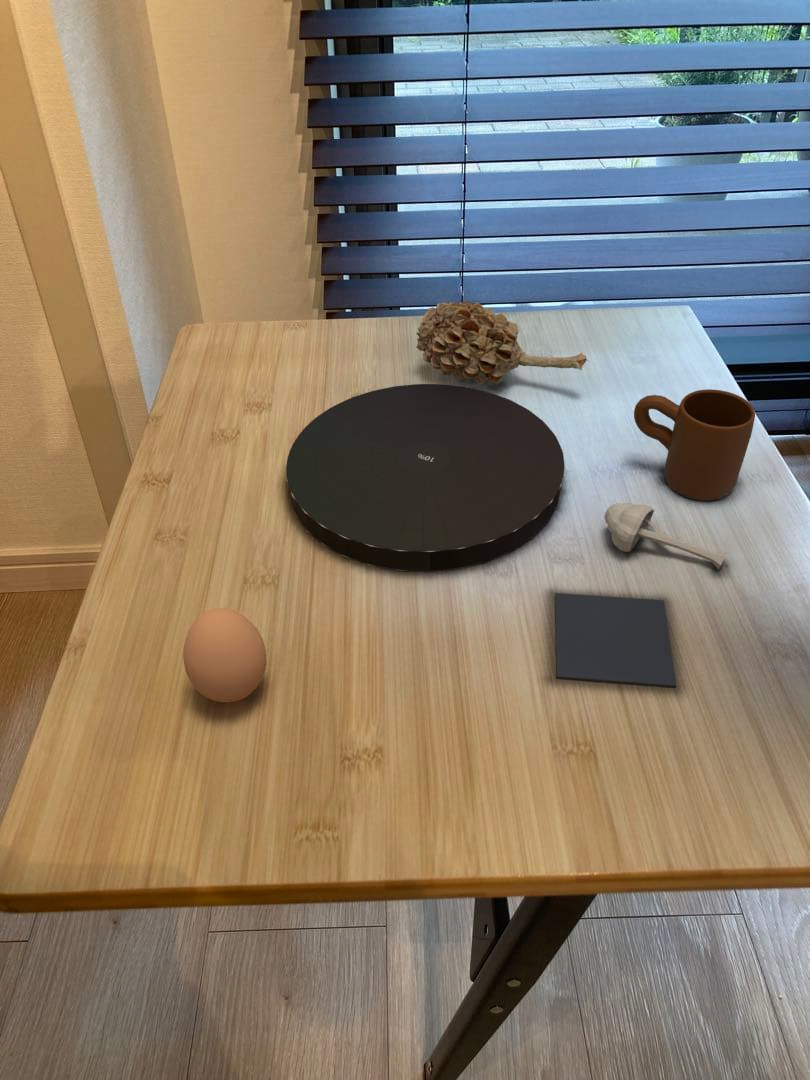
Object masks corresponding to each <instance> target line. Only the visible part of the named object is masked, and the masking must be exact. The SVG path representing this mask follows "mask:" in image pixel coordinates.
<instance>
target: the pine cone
mask: <svg viewBox="0 0 810 1080" xmlns="http://www.w3.org/2000/svg"><path fill="white" fill-rule="evenodd" d="M421 320H422V321H421V322H420V323H419V327H417V332H415V334H416V335H417V336H418V338H416V340H417V344H416V349H418V351H420V352H423V353H422V360H423V361H424V362H427V363H428V364H431V368H432V369H434V370H436V371H440V372H441V373H442V376H451V377H452V379H453V381H461V380H462V379H464V381H465V382H466V383H469V382H471V381H473V380H475V382H476V384H478V385H481V384H485V383H486V382H487V381H489V382H490V383H491V384H492V385H494V386H496V385H497V386H498V384H500V383H501V381H502V380H503V378H504V376H505V375H506V374H508V373H509V372H511V371H513V370H515V369H517V368H519V366H522V367H539V368H545V369H546V368H555V369H556V368H557V369H575V370H576V369H577V370H579V371H581V372H582V371H583V367H584V365H585V364H586V362H589V363H591V361H589V359H587V355H585V354H583V352H580V353H578V354H576V355H573V356H566V357H564V356H563V357H561V356H560V357H555V356H554V357H553V356H536V355H528V354H526V351H524V350H523V348H522V347H521V346H520V344H519V343H518V335H519V326H518V324H517V323H515V322H512V321H510V320H508V319H507V317H506V316H505V315H504V314H503V313H502V312H501V313H497V314H496V313H495V311H494V310H493V309H492V308H491V307H488V308H484V306H483V305H482V304H481V303H480V302H479V301H478V302H476V303H472V302H471V301H470V300H463V301H462V302H459V303H457V302H456V301H449V303H448V302H447V303H446V302H444V301H442V302H439V303H437V304H436V308H435V306H433V307H429V308H428V310H427V311H426V312H425V313H424V316H423V317H422V319H421Z"/></svg>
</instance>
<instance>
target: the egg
mask: <svg viewBox="0 0 810 1080" xmlns="http://www.w3.org/2000/svg"><path fill="white" fill-rule="evenodd" d="M182 654H183V655H182V657H183V664H184V669H185V673H186V675H187V678H188V680H189V681H190V683H191V685H192V686H193V687H194V688H195V689H196V690H197V692H198V693H200V694H201V695H202V696H204V697H206V699H210V700H212V701H215V702H218V703H234V702H237V701H240V700H243V699H245V698H247V697H248V696H249V695H251V694H252V693H253V691H255V690H256V689H257V688H258V687H259V685H260V683H261V682H262V680H263V678H264V676H265V672H266V669H267V650H266V646H265V642H264V639H263V637H262V635H261V633H260V631H259V629H258V628H257V627H256V625H254V624H253V622H251V621H250V620H249V618H247V616H245V615H243V614H242V613H240V612H238V611H237V610H234V609H232V608H228V607H217V608H212V609H209V610H206V611H205V612H203V613H201V614H200V615H199V616H198V617H196V619H195V620H194V621H193V623H191V626H190V627H189V629H188V631H187V633H186V637H185V640H184V644H183V651H182Z"/></svg>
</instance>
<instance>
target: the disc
mask: <svg viewBox="0 0 810 1080" xmlns="http://www.w3.org/2000/svg"><path fill="white" fill-rule="evenodd" d="M285 468H286V469H285V470H286V471H285V475H286V476H285V477H286V482H287V485H288V491H289V492H288V493H289V500H290V503H291V506H292V508H293V511H294V514H295V517H296V518H297V520H299V522H300V523H301V525H302V526H303V527H304V529H305V530H306V531H307V532H308V533H309V534H310V535H311V536H312V537H314V539H316V540H317V541H318V542H319V543H321V544H322V545H323V546H324V547H326V548H329V549H330V550H331V551H334V552H336V553H338V554H340V555H341V556H343V557H345V558H348V559H350V560H354V561H357V562H360V563H363V564H365V565H368V566H372V567H377V568H384V569H390V570H396V571H403V572H404V571H405V572H437V571H447V570H455V569H456V570H457V569H462V568H466V567H471V566H474V565H478V564H482V563H486V562H489V561H492V560H494V559H496V558H498V557H501V556H503V555H506V554H508V553H510V552H513V551H515V550H516V549H517V548H519V547H520V546H522V545H523V544H526V542H529V541H530V540H531V539H533V538H534V537H535V536H536V535H537V534H538V533H539V532H540V531H541V530H543V528H544V527H545V526H546V525H547V524H548V523H549V521H550V520H551V518H552V516H553V514H554V512H555V511H556V509H557V508H558V505H559V500H560V496H561V492H562V486H563V480H564V474H565V470H566V466H565V455H564V451H563V448H562V446H561V444H560V442H559V440H558V437H557V435H556V434H555V433H554V432H553V431H552V429H551V428H550V427H549V426H548V424H547V423H546V422H545V421H544V420H542V419H541V418H540V417H538V416H537V415H536V414H535V413H534V412H533V411H531V410H530V409H528V408H526V407H524V406H523V405H521V404H519V403H517V402H515V401H513V400H511V399H509V398H506V397H503V396H501V395H498V394H496V393H493V392H490V391H486V390H483V389H482V390H481V389H478V388H473V387H469V386H462V385H454V384H444V383H416V384H415V383H414V384H404V385H395V386H389V387H384V388H380V389H374V390H370V391H368V392H364V393H361V394H358V395H355V396H353V397H349V398H348V399H345V400H343V401H341V402H339V403H336V404H335V405H333V406H331V407H329V408H327V409H326V410H325V411H323V412H322V413H320V414H319V415H317V416H316V417H314V418H313V419H312V420H311V421H309V423H308V424H307V425H306V426H305V427H304V428H303V429H301V431H300V432H299V433H298V435H297V437H296V438H295V440H294V441H293V442H292V445H291V446H290V448H289V452H288V455H287V458H286V461H285Z"/></svg>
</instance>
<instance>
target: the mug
mask: <svg viewBox="0 0 810 1080" xmlns="http://www.w3.org/2000/svg"><path fill="white" fill-rule="evenodd" d="M650 410H655V411H658V412H659V413H660V414H662V415H664V416H665V417H667V418H669V419H670V420H672V421H673V423H674V424H673V426H672V427H673V428H672V429H671V428H669V427H668V426H666V425H664V424H661V423H657V422H655V421H654V420H653V419H652V418H651V416H650ZM633 419H634V423H635V424H636V427H637V429H638V430H639V431H640V432H641V433H642V434H643V435H645V436H647V437H649V438H650V439H653V440H656V441H658V442H659V443H660V444H661V445H662V446H663V447H664V448H665V449H666V450H667V455H666V460H665V464H664V470H663V471H664V479H665V481H666V483H667V485H668V487H670V488H671V489H672V490H673V491H675V492H676V493H678V494H680V495H681V496H683V497H686V498H689V499H692V500H696V501H697V500H698V501H713V500H719V499H722V498H724V497H726V496H727V495H729V494H730V493H731V492H732V491H733V490H734V488H735V487H736V484H737V481H738V479H739V476H740V473H741V468H742V465H743V462H744V460H745V457H746V453H747V450H748V446H749V443H750V440H751V438H752V433H753V429H754V424H755V419H756V411H755V408H754V407H753V405H752V404H751V402H749V401H748V400H747V399H746V398H744V397H742V396H740V395H738V394H735V393H733V392H729V391H726V390H721V389H711V388H710V389H699V390H695V391H692V392H690V393H688V394H686V395H685V396H684V397H683V398H682V399H681V401H680V404H677V403H676V402H674V401H672V400H671V399H669V398H667V397H666V396H664V395H657V394H651V395H650V394H649V395H645V396H644V397H642V398H640V400H638V402H637V403H636V404H635V405H634V410H633Z"/></svg>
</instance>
